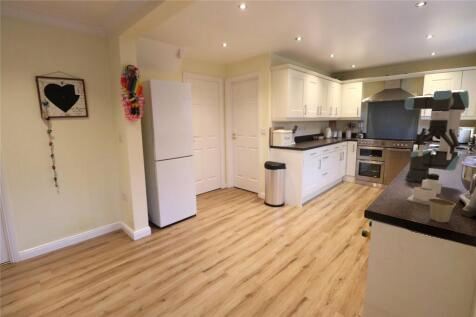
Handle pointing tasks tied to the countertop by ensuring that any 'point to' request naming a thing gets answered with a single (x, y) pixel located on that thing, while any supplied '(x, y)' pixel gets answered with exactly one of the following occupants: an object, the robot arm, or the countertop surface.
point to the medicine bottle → (432, 182)
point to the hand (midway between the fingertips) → (433, 157)
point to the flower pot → (440, 209)
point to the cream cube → (424, 193)
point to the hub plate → (419, 200)
